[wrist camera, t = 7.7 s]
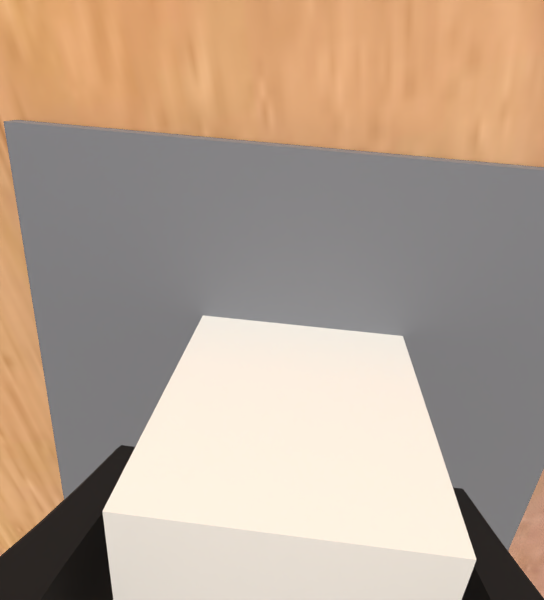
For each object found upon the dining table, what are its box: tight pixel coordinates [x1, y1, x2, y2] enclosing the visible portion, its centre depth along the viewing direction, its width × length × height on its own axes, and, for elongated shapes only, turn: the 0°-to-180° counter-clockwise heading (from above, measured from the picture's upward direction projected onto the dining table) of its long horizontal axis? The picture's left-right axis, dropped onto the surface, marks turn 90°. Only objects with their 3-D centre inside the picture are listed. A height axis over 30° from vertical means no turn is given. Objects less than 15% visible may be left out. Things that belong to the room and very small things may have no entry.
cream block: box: [102, 315, 476, 600], centre depth 10 cm, size 5×5×6 cm
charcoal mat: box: [4, 120, 544, 551], centre depth 13 cm, size 14×14×1 cm
